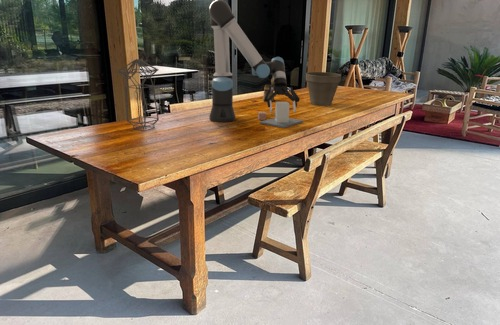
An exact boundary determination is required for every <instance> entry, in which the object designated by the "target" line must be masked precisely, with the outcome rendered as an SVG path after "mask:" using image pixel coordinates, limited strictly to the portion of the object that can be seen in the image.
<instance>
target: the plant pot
mask: <svg viewBox="0 0 500 325" xmlns="http://www.w3.org/2000/svg"><path fill="white" fill-rule="evenodd" d="M341 80H342V74H341V73H340V74H339V73H335V72H329V71H327V72H326V71H310V72H309V71H307V72H305V81H306V83H307V89H308V90H307V91H308V96H309V101H310V104H311V105H313V106H318V107H319V106H320V107H322V106H324V107H327V106H331V105H332V104H333V101H334V98H335V95H336V93H337V89H338V88H339V87H338V86H339V84H340V83H341Z"/></svg>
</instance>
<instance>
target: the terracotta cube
mask: <svg viewBox="0 0 500 325" xmlns="http://www.w3.org/2000/svg"><path fill="white" fill-rule="evenodd" d="M257 114H258V116H257V119H258V120H259V121H265V120H267V112H266V111H258V113H257Z"/></svg>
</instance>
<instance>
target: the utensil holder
mask: <svg viewBox="0 0 500 325" xmlns="http://www.w3.org/2000/svg"><path fill="white" fill-rule="evenodd" d="M270 83H271V84H265V85H264V88H263V90H264V91H263V96H262V101H263V102H264V98H265V96H266V94H267V92H268V90H269V86H271V87H273V88H274V83H273V77H272V78H271V79H270ZM274 92H275V91H274V90H272V91H271V92H270V94H269V96H268V98H269V97H270V96H271V95H272V94H273V93H274ZM268 98H267V99H268ZM271 102H275V97H274V98H273V99H272V100H271Z"/></svg>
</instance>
